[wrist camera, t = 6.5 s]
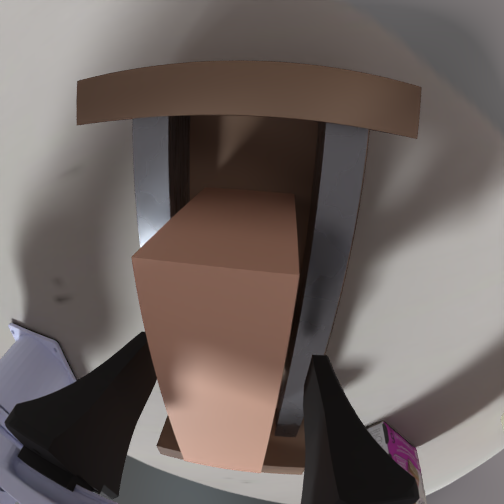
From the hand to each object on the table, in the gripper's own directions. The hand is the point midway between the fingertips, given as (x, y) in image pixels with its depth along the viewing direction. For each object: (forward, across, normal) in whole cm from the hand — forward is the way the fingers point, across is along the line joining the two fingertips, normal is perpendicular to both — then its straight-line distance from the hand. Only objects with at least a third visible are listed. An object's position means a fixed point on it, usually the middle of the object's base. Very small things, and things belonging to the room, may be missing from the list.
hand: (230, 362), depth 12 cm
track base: (+5, 0, 0) cm, 5 cm away
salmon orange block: (+4, 0, 0) cm, 4 cm away
